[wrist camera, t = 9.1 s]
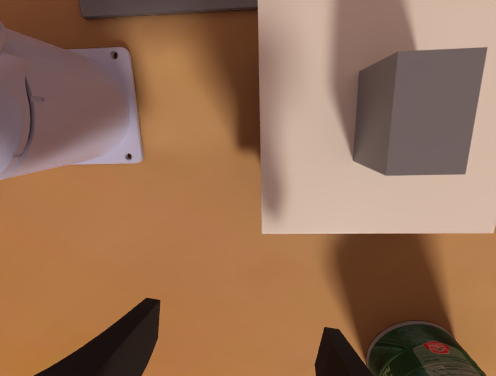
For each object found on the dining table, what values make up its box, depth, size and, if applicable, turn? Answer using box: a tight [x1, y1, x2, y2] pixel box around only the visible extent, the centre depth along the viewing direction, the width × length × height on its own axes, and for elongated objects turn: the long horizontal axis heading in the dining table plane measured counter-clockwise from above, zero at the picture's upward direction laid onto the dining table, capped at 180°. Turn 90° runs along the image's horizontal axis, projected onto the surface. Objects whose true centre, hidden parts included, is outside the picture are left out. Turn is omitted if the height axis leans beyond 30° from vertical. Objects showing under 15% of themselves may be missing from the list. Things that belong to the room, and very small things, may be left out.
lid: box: [258, 0, 496, 234], centre depth 12 cm, size 13×13×5 cm
